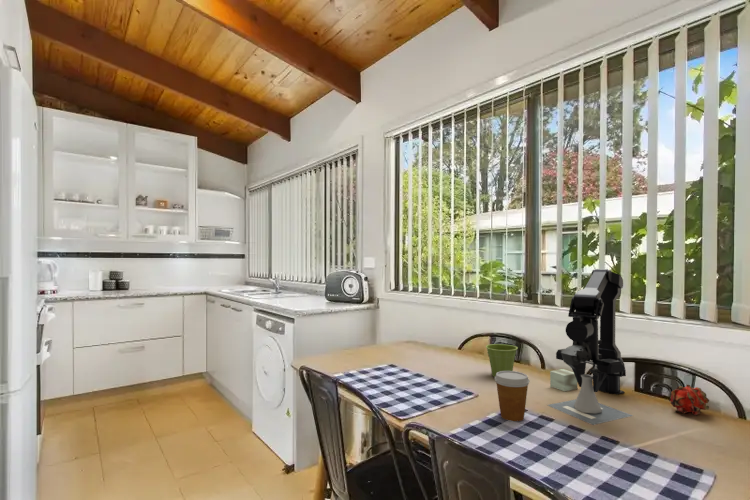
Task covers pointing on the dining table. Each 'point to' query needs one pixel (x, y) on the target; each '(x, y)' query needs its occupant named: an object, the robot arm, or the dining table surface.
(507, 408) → the disposable coffee cup
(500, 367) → the plant pot
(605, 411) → the board
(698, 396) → the dragon fruit
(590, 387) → the flask
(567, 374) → the sage block
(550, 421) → the dining table surface
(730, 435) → the dining table surface
